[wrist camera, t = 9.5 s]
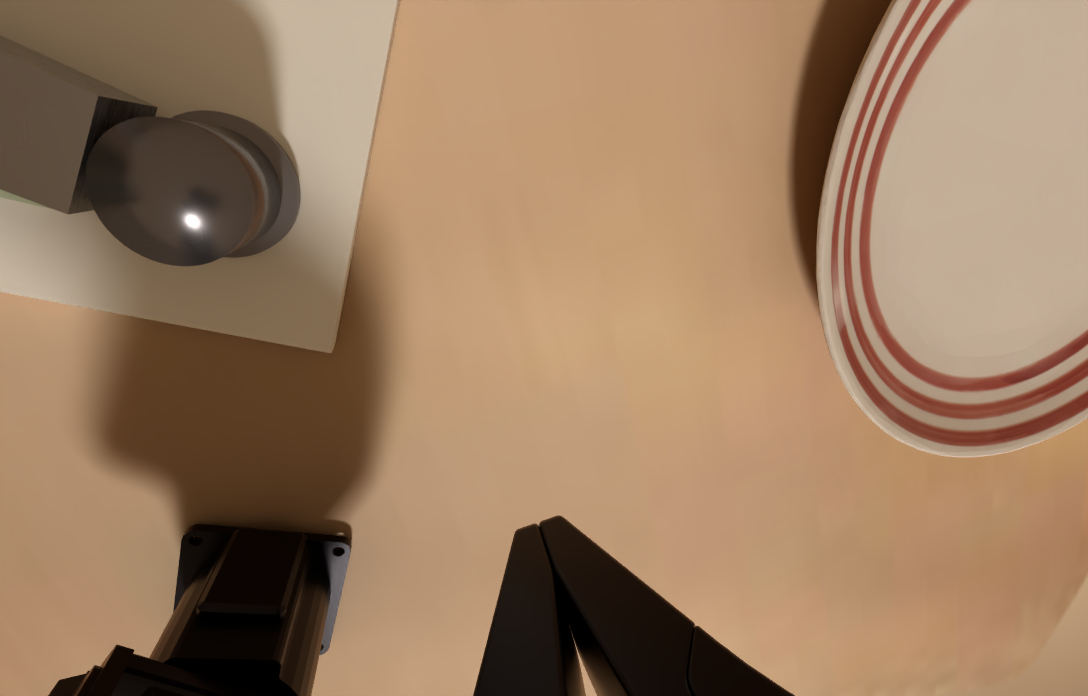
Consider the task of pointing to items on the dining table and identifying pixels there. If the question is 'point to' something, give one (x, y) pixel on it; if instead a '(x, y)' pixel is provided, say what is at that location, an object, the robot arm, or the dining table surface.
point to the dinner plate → (962, 226)
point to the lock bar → (129, 163)
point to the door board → (231, 102)
